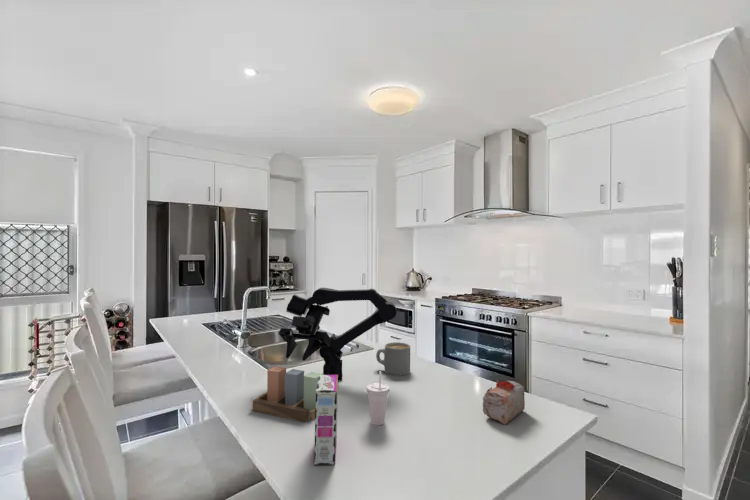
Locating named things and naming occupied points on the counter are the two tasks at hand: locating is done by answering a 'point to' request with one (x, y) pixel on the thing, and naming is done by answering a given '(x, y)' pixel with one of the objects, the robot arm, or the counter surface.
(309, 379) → the sage key
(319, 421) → the candy bar box
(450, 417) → the counter surface
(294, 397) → the grey tall block
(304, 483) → the counter surface
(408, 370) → the coffee mug
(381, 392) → the smoothie
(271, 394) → the pink rectangular block
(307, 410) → the wooden slotted rack
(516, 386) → the food item
